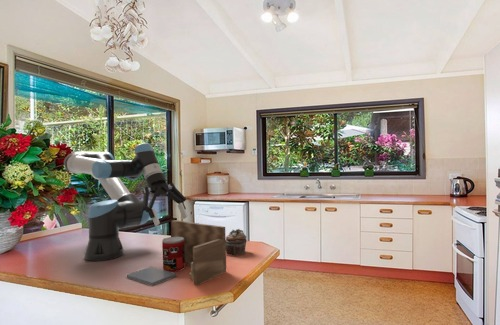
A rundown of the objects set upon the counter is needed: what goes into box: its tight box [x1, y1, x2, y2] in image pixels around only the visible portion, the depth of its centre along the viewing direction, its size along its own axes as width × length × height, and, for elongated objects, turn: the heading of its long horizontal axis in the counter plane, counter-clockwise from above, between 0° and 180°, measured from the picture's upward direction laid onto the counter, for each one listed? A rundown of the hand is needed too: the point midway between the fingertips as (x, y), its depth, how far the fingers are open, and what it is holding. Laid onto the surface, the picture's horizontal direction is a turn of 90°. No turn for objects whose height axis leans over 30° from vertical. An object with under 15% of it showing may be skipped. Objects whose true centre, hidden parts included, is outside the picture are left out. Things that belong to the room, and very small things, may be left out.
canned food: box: [161, 236, 186, 273], centre depth 115 cm, size 8×8×11 cm
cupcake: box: [225, 228, 247, 256], centre depth 134 cm, size 10×10×10 cm
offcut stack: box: [189, 262, 193, 280], centre depth 107 cm, size 4×9×5 cm, turn 144°
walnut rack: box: [170, 219, 227, 286], centre depth 112 cm, size 27×14×16 cm, turn 54°
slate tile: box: [126, 266, 177, 287], centre depth 107 cm, size 14×10×1 cm
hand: (172, 221), depth 127 cm, fingers open, 13 cm apart
